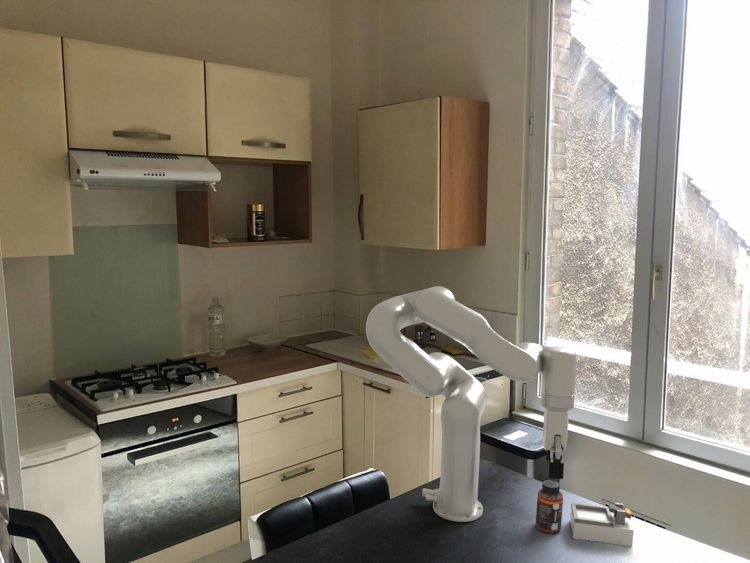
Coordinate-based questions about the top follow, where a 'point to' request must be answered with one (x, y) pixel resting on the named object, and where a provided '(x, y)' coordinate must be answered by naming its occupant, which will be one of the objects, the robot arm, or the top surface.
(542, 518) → the supplement bottle
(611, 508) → the breaker lever
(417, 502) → the top surface
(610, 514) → the box
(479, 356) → the robot arm
